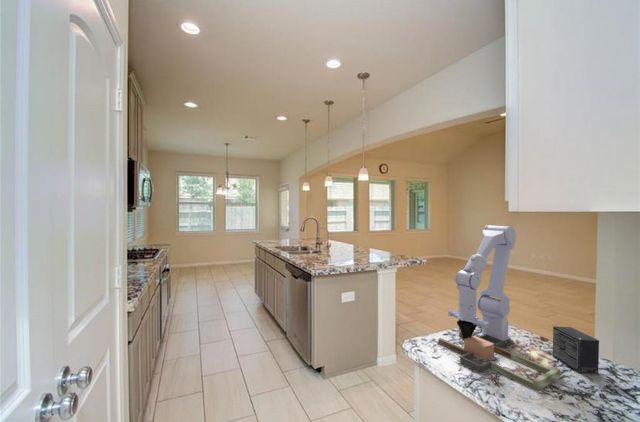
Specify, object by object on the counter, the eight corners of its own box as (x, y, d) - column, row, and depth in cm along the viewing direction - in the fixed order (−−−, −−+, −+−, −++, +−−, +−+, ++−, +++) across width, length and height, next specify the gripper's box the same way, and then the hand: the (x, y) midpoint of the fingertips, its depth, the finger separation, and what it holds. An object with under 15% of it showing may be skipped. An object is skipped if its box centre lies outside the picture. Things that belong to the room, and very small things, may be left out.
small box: (600, 374, 87) (601, 340, 87) (579, 373, 87) (579, 339, 87) (570, 356, 97) (571, 326, 97) (551, 356, 98) (552, 325, 97)
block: (474, 346, 104) (474, 335, 104) (493, 355, 98) (494, 343, 97) (464, 350, 101) (464, 339, 101) (483, 359, 95) (483, 347, 95)
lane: (461, 335, 113) (461, 329, 113) (560, 377, 85) (560, 369, 85) (438, 342, 106) (438, 336, 106) (537, 391, 78) (537, 382, 78)
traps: (485, 339, 110) (485, 333, 110) (523, 354, 98) (523, 348, 98) (443, 354, 98) (443, 348, 98) (480, 373, 86) (480, 366, 86)
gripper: (442, 300, 108) (442, 335, 108) (480, 312, 95) (479, 352, 95) (454, 297, 111) (454, 332, 111) (492, 309, 99) (491, 348, 99)
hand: (466, 341), depth 104 cm, fingers closed
